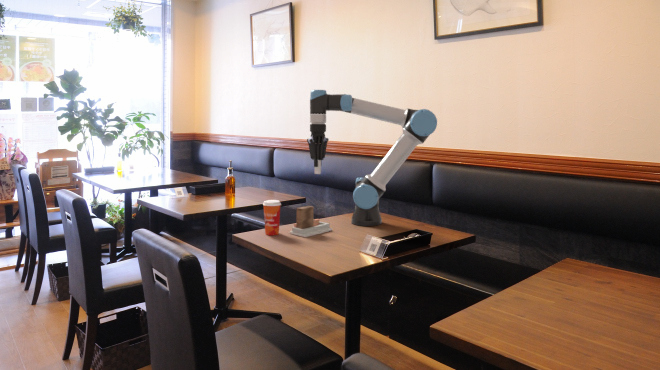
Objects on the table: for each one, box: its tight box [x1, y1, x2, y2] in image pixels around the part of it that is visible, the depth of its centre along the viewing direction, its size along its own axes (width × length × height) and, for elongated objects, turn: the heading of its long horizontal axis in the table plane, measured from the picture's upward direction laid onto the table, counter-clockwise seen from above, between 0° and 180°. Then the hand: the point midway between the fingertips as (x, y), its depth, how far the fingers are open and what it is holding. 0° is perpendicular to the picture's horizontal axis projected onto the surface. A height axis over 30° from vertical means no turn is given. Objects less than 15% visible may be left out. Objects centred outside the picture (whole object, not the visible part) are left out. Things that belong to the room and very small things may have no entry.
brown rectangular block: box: [295, 205, 315, 229], centre depth 221 cm, size 8×3×11 cm, turn 138°
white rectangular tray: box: [289, 218, 333, 238], centre depth 224 cm, size 18×10×4 cm, turn 139°
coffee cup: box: [262, 199, 282, 236], centre depth 218 cm, size 8×8×15 cm
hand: (317, 173), depth 230 cm, fingers closed
